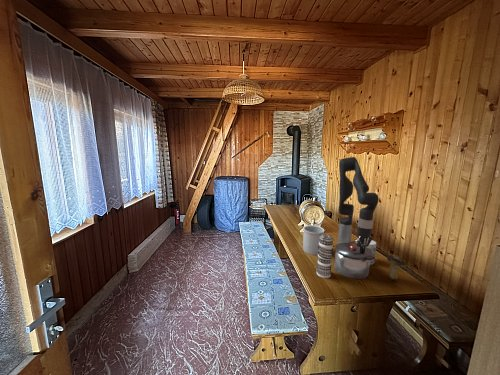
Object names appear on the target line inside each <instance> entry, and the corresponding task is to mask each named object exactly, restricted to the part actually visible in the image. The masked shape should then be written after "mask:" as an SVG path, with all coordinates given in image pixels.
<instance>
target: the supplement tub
mask: <svg viewBox="0 0 500 375" xmlns="http://www.w3.org/2000/svg"><path fill="white" fill-rule="evenodd" d="M367 248H369V249H370V250H371V251H372V256H373V257H375V259H376V252H377V241H375V240H373V239H372V241H371V242H370V244H369V246H368V247H367ZM375 259H373V260H370V266H371V265H373V264H375Z"/></svg>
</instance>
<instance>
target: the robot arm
mask: <svg viewBox="0 0 500 375" xmlns="http://www.w3.org/2000/svg"><path fill="white" fill-rule="evenodd" d="M338 166H339V168H338V170H339V193H338V194H339V201H338V214H340V215H342V216H346V217H343V218H340V219H339V224H338V233H337V244H339V243H352V234H353V233H352V226H353V217H354V210H355V206H354V204H351V203H345V202H346V201H347V200H348V199H350V197H351V196H352V195H353V193H354V189H355V191H356V196H357V201H358V203H359V204H361V205H362V206H363V205H364V206H365V207H363V208H360V210H359V214H358V216H359V217H358V222H357V231H356V232H357V234H358V235H357V238H356V239H354V243H355V244H356V245H357V246H358V247H360V253H361V254H365V248H366V247H368V246H369V244H370V242H371V241H372V240H373V237H371V235H372V232H373V225H374V222H373V219H374V213H375V210H376V208H377V206H378V203H379V199H380V198H379V195H378V194H377V193H376V192H369V191H370V187H369V185H368V183H367V181H366V180H365V177H364V175H363V173H362V169H361V166H360V164H359V161H358V159H357V158H356V157H355V156H350V157H345V158H340V160H339V164H338ZM352 171H355V172H354V176H353V179H352V181H351V180H350V178H349V177H348V176H347V175H346V173H347V172H352Z"/></svg>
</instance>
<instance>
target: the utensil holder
mask: <svg viewBox="0 0 500 375" xmlns="http://www.w3.org/2000/svg"><path fill="white" fill-rule="evenodd" d="M323 234H325V229H324V228H323V227H321V226H318V225H314V224H313V225H312V224H311V225H305V226H304V227H303V239H302V241H303V242H302V251H304V253H306V254H308V255H311V256H318V243H319V242H320V238H319V237H320V236H322V235H323Z"/></svg>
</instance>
